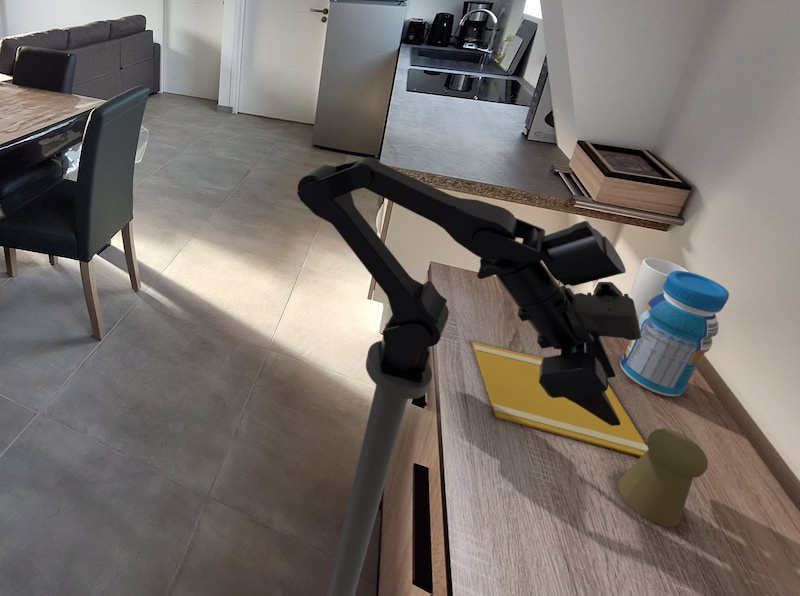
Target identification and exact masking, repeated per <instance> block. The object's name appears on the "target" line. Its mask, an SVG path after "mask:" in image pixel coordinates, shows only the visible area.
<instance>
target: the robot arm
mask: <svg viewBox="0 0 800 596" xmlns="http://www.w3.org/2000/svg"><path fill="white" fill-rule="evenodd" d="M360 189H365V190H367V191H370V192H371V193H374V194H376V195H378V196H379V197H382V198H384V199H385V200H388V201H389V202H392V203H393V204H396V205H397V206H400V207H401V208H404V209H406V210H407V211H410V212H411V213H414V214H416V215H418V216H420V217H423V218H424V219H426V220H427V221H430V222H432V223H434V224H436V225H437V226H439V227H440V228H441V229H443V230H444V231H445V232H446V233H447V234H448V235H449V236H450V238H452V240H454V242H456V243H457V244H459V245H460V246H461V247H463V248H465V249H466V250H467V251H469V252H470V253H472V254H473V255H475V256H476V257H478V258H480V259H479V269H478V273H477V274H476V276H477V278H478V279H480V280H483V279H487V278H489V277H493V276H496V278H497V280H498V281H499V282H500V283H501V285H502V286H503V288H504V289H505V290H506V292H507V293H508V295H509V296H510V297H511V299H512V300H513V302H514V303H515V304H516V306H517V307H518V310H517V316H518V317H519V319H520V320H521V322H526V321H528V323H529V324H530V325H531V327H532V328H533V330H534V331H535V332H536V334H537V340H536V342H537V344H538V345H539V347H540V348H541V349H542V350H543V349H548V348H553V349H554V350H560V354H558V355H551V356H546V357H545V356H544V357H542V358H543V360H542V363H541V365H540V375H539V383H540V384H541V386H542V387H543V389H544V390H545V392H546V393H547V394H548V396H550V397H552V398H559V397H564V398H566V399H568V400H570V401H572V402H574V403H576V404H577V405H579V406H581V407H582V408H584V409H585V410H587V411H589V412H590V413H592V414H593V415H595V416H596V417H598V418H600V419H601V420H603V421H604V422H606V423H607V424H609V425H611V426H616V425H620V420H619V418H618V416H617V414H616V412H615V410H614V408H613V406H612V404H611V403H610V401H609V399H608V397H607V395H606V393H605V391H606V390H607V389H608V384H609V378H610V379H611V378H616V376H617V375H616V372H615V370H614V367H613V365H612V362H611V360H610V358H609V355H608V353H607V350H606V348H605V345H604V343H603V340H602V339H601V337H607V338H621V339H624V340H627V341H631V340H637V339H640V338H641V332H640V327H639V321H638V317H637V313H636V309H635V305H634V301H633V299H631V298H629V293H623V292H622V291H621V290H620V289H619V288H618V287H617V285H615V284H614V282H611V281H598V280H603V279H606V278H610V277H614V276H619V275H621V274H626V271H627V270H626V267H625V264H624V262H623V260H622V258H621V257H620V255H619V253H618V252H617V250H616V248H615V247H614V246H613V244H612V243H611V241H610V240H609V239H608V238H607V236H606V235H603V234H602V233H601V232H599V230H597V228H593V226H592V225H591V224H590V222H589V221H588V220H583V221H580V222H577V223H575V224H573V225H571V226H570V227H567V228H564V229H561V230H558V231H556V232H552V233H549V234H546V230H545V229H544V228H542V227H540V226H537V225H534V224H533V223H530V222H527V221H525V220H522V219H519V218H517V217H515V215H514V214H513V213H512V212H511V211H510V210H509V209H507V208H504V207H502V206H499V205H495V204H492V203H489V202H486V201H482V200H479V199H472V198H462V197H458V196H455V195H451V194H450V193H447V192H445V191H442V190H440V189H438V188H436V187H434V186H432V185H429V184H427V183H425V182H423V181H421V180H419V179H417V178H414V177H412V176H411V175H408V174H406V173H403V172H401V171H399V170H397V169H395V168H392V167H390V166H388V165H386V164H384V163H382V162H380V161H379V160H378V159H376V158H375V157H372V156H368V157H363V158H361V159H359V160H356V161H355V160H354V161H350V162H349V161H348V162H345V163H342V164H339V165H336V166H335V165H334V166H333V165H328V164H324V165H323V164H321V165H320V166H317V167H316V168H314V169H313V170H312V171H310V172H309V173H307V174H306V175H304V176H303V177H301V179H300V180H299V181H298V184H297V191H296V193H297V196H298V198H299V201H300V202H302V204H304V206H306V207H307V208H308V210H310V211H311V212H312V214H314V215H315V216H316V217H319V218H321V219H322V220H324V221H326V222H328V223H329V224H331V225H332V227H334V229H335V230H336V231H337V233H338V234H339V235H340V236H341V238H342V239H343V241H344V242H345V244H346V245H347V246H348V247H349V248H350V250H351V251H352V253H354V255H355V256H356V257H357V258H358V260H359V261H360V263H361V264H362V265H363V266H364V267H365V269H366V270H367V272H368V273H369V274H370V276H371V277H372V278H373V280H374V281H375V282H376V284H378V286H379V287H380V289H381V290H382V291H383V292H384V294H385V295H386V297H387V300H388V304H389V307H390V311H391V314H392V315H391V316H390V318H389V320H388V321H387V323H385V326H384V328H383V330H382V339H381V341H382V343H379V345H378V347H379V365H380V371H381V372H382V373H386V374H389V375H393V376H397V377H401V378H404V379H408V380H412V381H416V382H419V383H421V382H422V380H423V378H422V372H425V369H426V365H427V362H428V361H429V358H430V355H431V352H430V347H435V346H436V345H437V344H438V343H439V342H440V341H441V338H442V336H443V332H444V330H445V327H446V325H447V322H448V320H449V315H450V310H449V308H448V306H447V301H448V300H447V299H446V298H445V297H444V296H442V294H441V293H440V292H439V291H438V290H437V288H436V286H435V285H434V283H433V282H432V281H430V280H427V281H426V282H424V283H421V282H420V281H417V280H416V279H414V278H412V277H411V275H410V274H409V273H408V272H407V271H406V269H405V268H404V267H403V266H402V264H401V263H400V262H399V261H398V259H397V258H396V257H395V256H394V254H393V252H391V250H390V249H389V247H387V245H386V244H385V243H384V241H383V240H382V239H381V238H380V236H378V235H379V234H377V232H376V231H375V230H374V229H373V228H372V226H371V225H370V224H369V222H368V221H367V220H366V219H365V217H364V216H363V215H362V213H361V212H360V211H359V210H358V209H357V207H356V205H355V201H354V199H353V195H352V192H353V191H357V190H360ZM517 239H522V242H521V241H518V240H517ZM557 281H558V282H560V283H561V284H562V286H561V285H560V284H558V282H557ZM595 281H598V282H597V283H596V286H595V287H594V290H593V293H592V292H587V293H583V292H579V293H574V292H573V290H572V289H571V288H570V287H566V286H571V287H575V286H579V285H583V284H587V283H590V282H595ZM428 363H429V362H428Z"/></svg>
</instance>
